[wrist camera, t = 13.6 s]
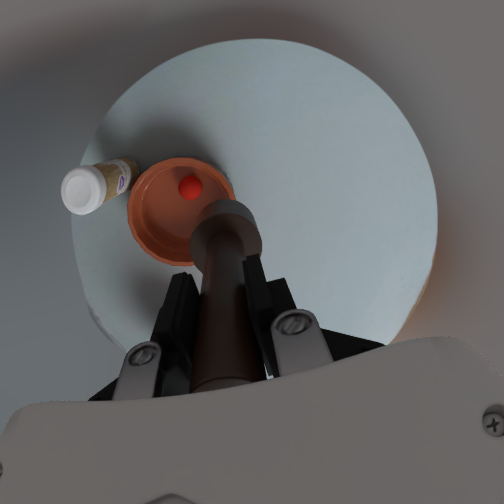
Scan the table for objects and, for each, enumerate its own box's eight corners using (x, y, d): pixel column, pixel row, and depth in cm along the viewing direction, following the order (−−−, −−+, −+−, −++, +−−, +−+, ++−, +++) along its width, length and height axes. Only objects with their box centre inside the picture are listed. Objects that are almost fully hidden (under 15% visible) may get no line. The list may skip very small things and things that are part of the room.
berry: (173, 194, 35) (189, 180, 36) (190, 208, 34) (206, 193, 36) (172, 182, 32) (190, 167, 33) (190, 197, 32) (208, 181, 33)
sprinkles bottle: (141, 188, 35) (101, 214, 23) (111, 190, 35) (62, 217, 22) (139, 154, 33) (96, 164, 21) (108, 158, 33) (56, 170, 20)
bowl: (126, 173, 34) (113, 179, 29) (220, 143, 34) (220, 143, 29) (157, 261, 39) (149, 277, 35) (246, 236, 39) (249, 250, 34)
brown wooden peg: (189, 205, 20) (120, 354, 6) (250, 193, 20) (307, 327, 6) (202, 260, 21) (179, 443, 8) (259, 250, 21) (310, 426, 8)
